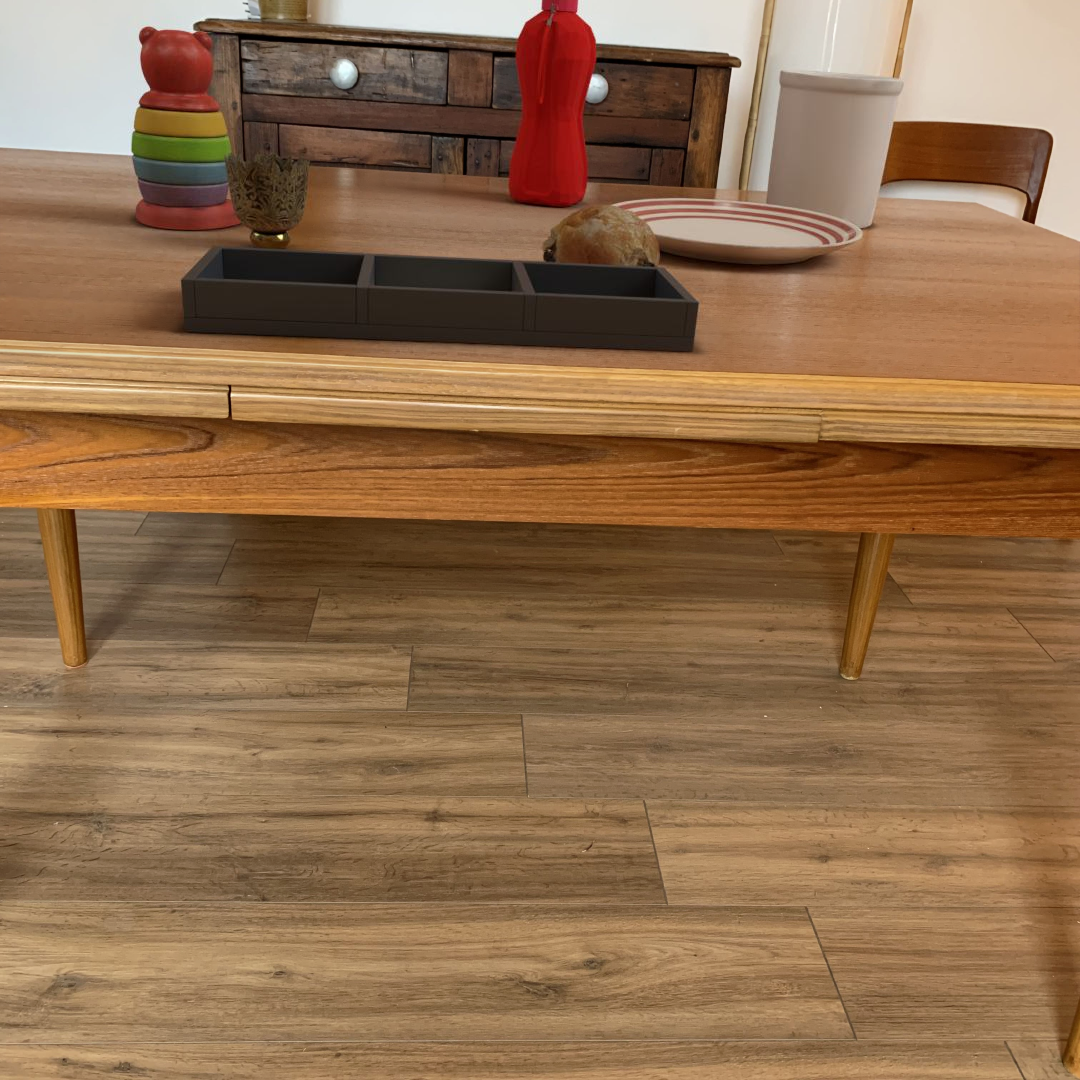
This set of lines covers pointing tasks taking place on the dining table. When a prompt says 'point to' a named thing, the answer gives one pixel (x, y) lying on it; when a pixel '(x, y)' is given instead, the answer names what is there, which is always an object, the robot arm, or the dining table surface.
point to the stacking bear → (180, 136)
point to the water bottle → (552, 106)
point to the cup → (268, 196)
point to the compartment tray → (437, 299)
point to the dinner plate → (741, 230)
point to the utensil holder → (832, 142)
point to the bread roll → (602, 239)
